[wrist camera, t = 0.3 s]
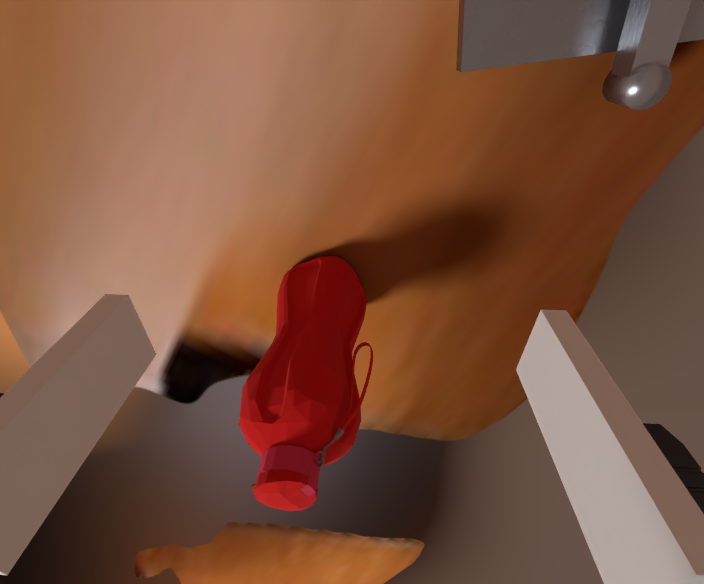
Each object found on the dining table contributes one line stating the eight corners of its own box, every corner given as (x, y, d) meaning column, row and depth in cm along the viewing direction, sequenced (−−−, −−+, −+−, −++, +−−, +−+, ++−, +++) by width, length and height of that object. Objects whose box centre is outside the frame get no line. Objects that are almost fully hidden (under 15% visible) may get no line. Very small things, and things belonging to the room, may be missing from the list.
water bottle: (386, 298, 45) (395, 518, 25) (310, 322, 48) (262, 534, 28) (358, 238, 40) (340, 451, 20) (274, 268, 43) (186, 479, 23)
